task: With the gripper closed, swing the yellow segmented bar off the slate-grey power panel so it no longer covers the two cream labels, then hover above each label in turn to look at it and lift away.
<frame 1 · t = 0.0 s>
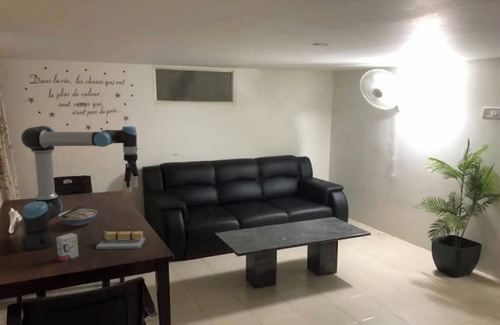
hand: (132, 189, 223), 28 cm above the table, tool pointing down, fingers open, 13 cm apart
ink box: (68, 258, 196), on the table
power panel: (121, 244, 214), on the table
ramen bowl: (78, 225, 248), on the table
yellow segmented bar: (122, 235, 216), point 5 cm above the table, hinge at 0.0°
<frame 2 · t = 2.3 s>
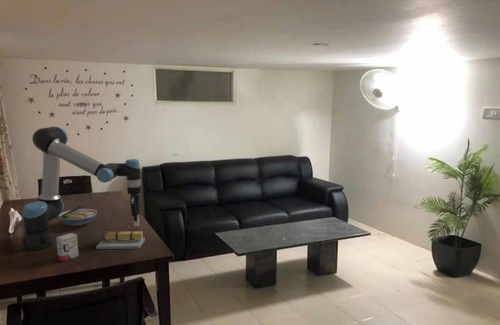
hand: (136, 225, 224), 7 cm above the table, tool pointing down, fingers closed
nothing on the table moved.
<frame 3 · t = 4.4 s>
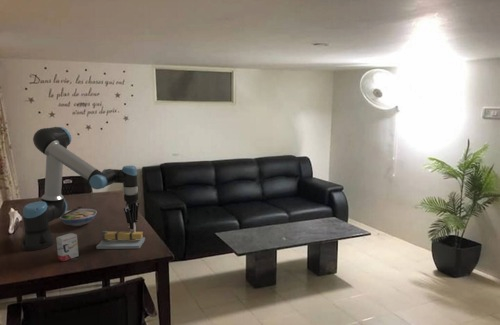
hand: (133, 233, 218), 4 cm above the table, tool pointing down, fingers closed
yellow segmented bar: (122, 235, 215), point 5 cm above the table, hinge at -1.6°, touching gripper
everything else where it was.
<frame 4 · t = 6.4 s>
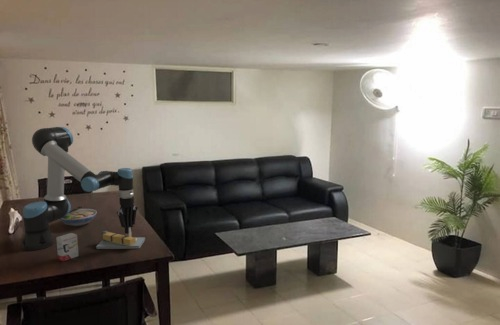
hand: (128, 238, 211), 4 cm above the table, tool pointing down, fingers closed
yellow segmented bar: (117, 238, 211), point 5 cm above the table, hinge at -28.2°, touching gripper
everything else where it was.
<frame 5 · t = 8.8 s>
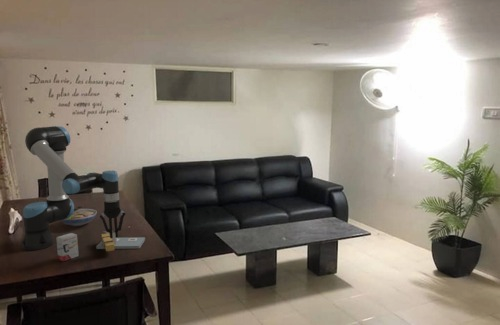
hand: (114, 243, 204), 4 cm above the table, tool pointing down, fingers closed
yellow segmented bar: (107, 241, 207), point 5 cm above the table, hinge at -64.5°, touching gripper
everything else where it was.
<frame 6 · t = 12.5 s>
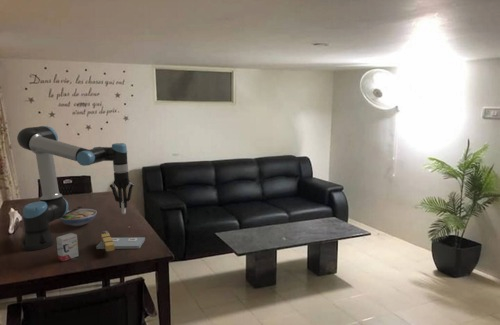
hand: (123, 213, 214), 17 cm above the table, tool pointing down, fingers closed
yellow segmented bar: (107, 241, 207), point 5 cm above the table, hinge at -64.5°
everything else where it was.
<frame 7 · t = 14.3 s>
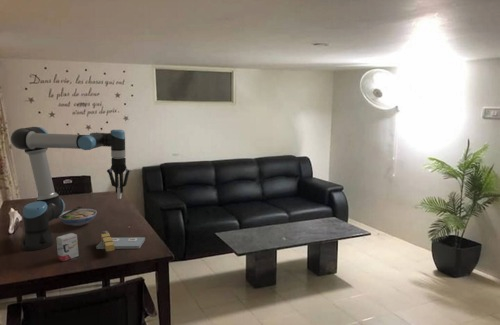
hand: (119, 198, 219), 24 cm above the table, tool pointing down, fingers closed
nothing on the table moved.
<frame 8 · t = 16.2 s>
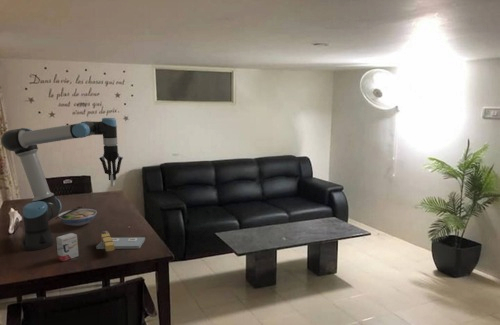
hand: (112, 185, 223), 30 cm above the table, tool pointing down, fingers closed
nothing on the table moved.
at the end: yellow segmented bar at -64° (first picture: +0°); ink box moved 0.3 cm from its start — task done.
